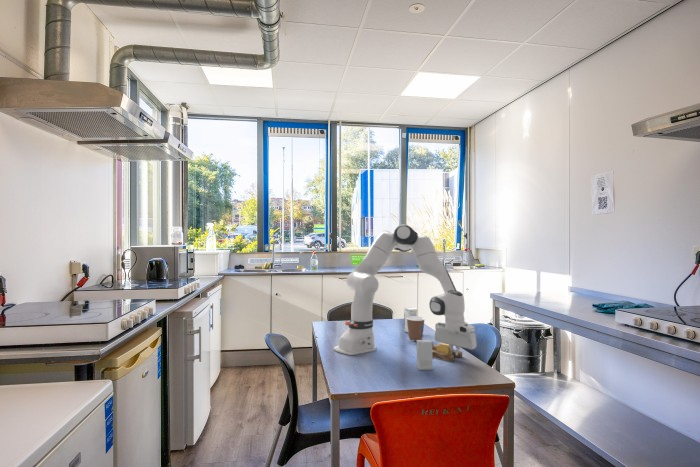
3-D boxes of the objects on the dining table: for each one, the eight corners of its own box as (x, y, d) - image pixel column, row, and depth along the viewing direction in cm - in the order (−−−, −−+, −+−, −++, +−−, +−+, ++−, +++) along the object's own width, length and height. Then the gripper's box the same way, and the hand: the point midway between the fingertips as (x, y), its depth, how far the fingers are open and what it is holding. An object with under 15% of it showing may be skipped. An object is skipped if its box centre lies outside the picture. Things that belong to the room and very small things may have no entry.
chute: (462, 356, 176) (462, 350, 176) (451, 361, 169) (451, 355, 169) (431, 349, 188) (431, 343, 188) (419, 353, 181) (419, 347, 181)
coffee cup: (424, 342, 200) (425, 320, 200) (405, 341, 202) (406, 319, 202) (424, 337, 210) (425, 316, 210) (406, 336, 212) (406, 315, 212)
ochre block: (453, 356, 177) (453, 345, 177) (447, 358, 173) (447, 347, 173) (442, 353, 181) (442, 343, 181) (436, 355, 177) (436, 345, 177)
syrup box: (411, 330, 227) (412, 306, 227) (416, 332, 221) (417, 308, 222) (403, 331, 225) (403, 307, 225) (408, 333, 219) (408, 309, 219)
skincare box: (429, 366, 163) (429, 339, 163) (432, 370, 158) (433, 342, 158) (416, 366, 162) (416, 339, 162) (418, 370, 158) (419, 342, 158)
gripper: (432, 322, 178) (431, 351, 178) (471, 330, 164) (471, 361, 164) (438, 320, 183) (438, 348, 183) (478, 327, 169) (477, 358, 168)
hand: (454, 354), depth 173 cm, fingers closed
